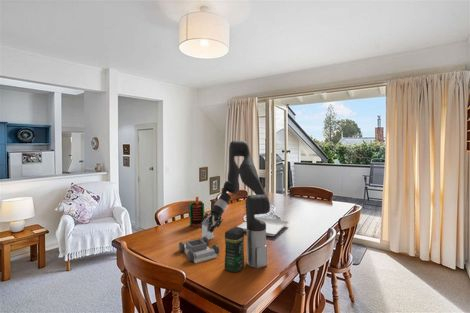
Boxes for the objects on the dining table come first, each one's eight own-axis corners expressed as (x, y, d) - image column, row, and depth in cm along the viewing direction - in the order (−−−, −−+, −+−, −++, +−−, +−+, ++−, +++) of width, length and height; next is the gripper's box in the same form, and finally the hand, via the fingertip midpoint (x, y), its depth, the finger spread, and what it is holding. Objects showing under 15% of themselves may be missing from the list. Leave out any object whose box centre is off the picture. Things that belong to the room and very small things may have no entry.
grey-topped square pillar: (213, 238, 155) (213, 221, 154) (207, 240, 151) (207, 224, 151) (208, 236, 158) (207, 220, 158) (202, 238, 154) (201, 222, 154)
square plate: (254, 220, 189) (254, 215, 189) (289, 226, 175) (289, 221, 175) (235, 231, 166) (235, 226, 166) (275, 239, 152) (275, 233, 152)
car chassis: (220, 256, 130) (220, 246, 129) (191, 264, 122) (191, 254, 121) (203, 243, 147) (203, 234, 146) (178, 249, 139) (178, 240, 138)
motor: (190, 228, 173) (190, 199, 172) (189, 224, 182) (188, 196, 181) (205, 226, 176) (204, 198, 175) (203, 222, 185) (203, 195, 183)
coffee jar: (237, 274, 112) (236, 233, 111) (222, 270, 116) (221, 230, 115) (247, 265, 120) (246, 226, 119) (232, 261, 124) (232, 224, 123)
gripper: (208, 202, 164) (194, 224, 156) (224, 206, 154) (210, 230, 146) (214, 209, 168) (201, 231, 160) (230, 213, 159) (217, 236, 151)
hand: (205, 230), depth 153 cm, fingers open, 7 cm apart
